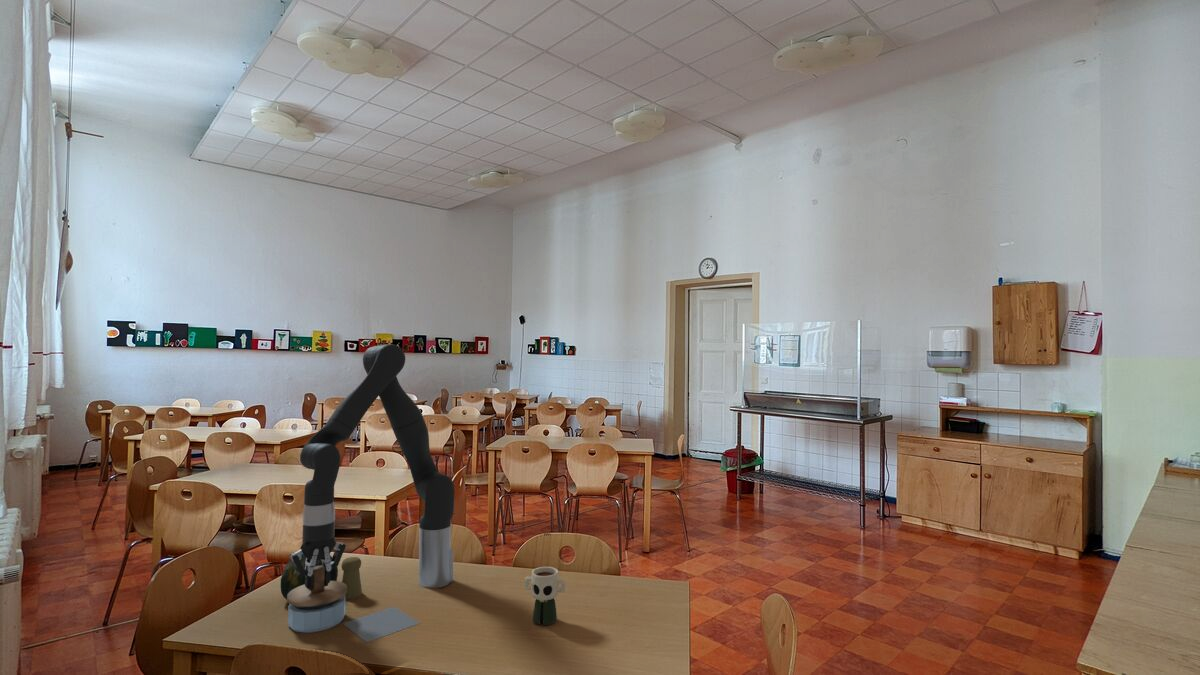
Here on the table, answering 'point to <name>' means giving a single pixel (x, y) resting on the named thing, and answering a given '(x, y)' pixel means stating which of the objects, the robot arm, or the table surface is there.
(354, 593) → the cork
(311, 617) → the bowl
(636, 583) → the table surface
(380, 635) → the mat
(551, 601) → the character mug
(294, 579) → the squash
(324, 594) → the lid
